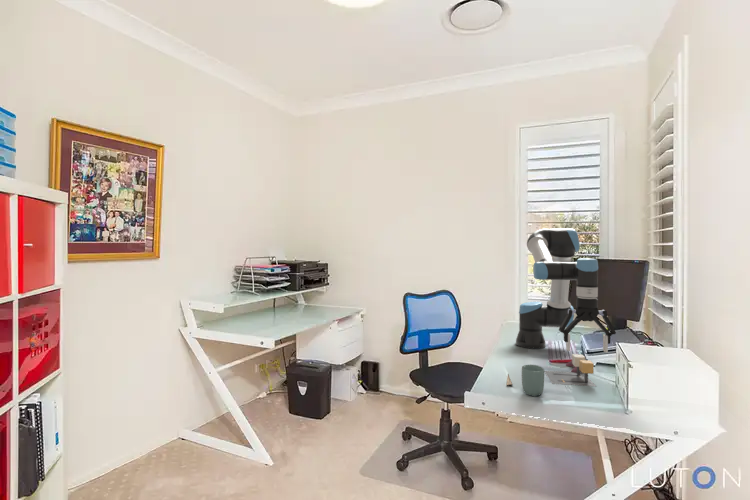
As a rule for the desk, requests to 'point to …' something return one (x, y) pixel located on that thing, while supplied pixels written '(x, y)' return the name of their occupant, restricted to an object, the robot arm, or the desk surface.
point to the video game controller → (572, 366)
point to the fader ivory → (577, 361)
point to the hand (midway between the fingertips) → (586, 351)
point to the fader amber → (586, 368)
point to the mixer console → (568, 378)
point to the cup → (532, 379)
